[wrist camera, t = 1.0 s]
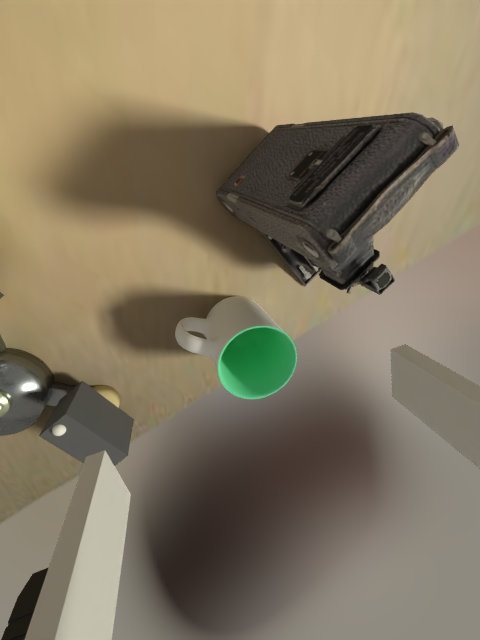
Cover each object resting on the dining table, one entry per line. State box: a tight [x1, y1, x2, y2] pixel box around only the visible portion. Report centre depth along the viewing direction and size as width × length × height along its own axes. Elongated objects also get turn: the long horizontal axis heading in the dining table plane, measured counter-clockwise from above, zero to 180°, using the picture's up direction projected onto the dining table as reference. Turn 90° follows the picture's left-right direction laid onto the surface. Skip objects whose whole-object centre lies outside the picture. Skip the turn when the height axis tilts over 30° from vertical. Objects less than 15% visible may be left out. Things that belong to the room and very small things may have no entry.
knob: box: [39, 381, 134, 466], centre depth 33 cm, size 4×8×9 cm, turn 37°
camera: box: [216, 113, 459, 295], centre depth 28 cm, size 11×17×20 cm, turn 42°
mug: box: [175, 296, 297, 399], centre depth 33 cm, size 12×8×10 cm, turn 76°
